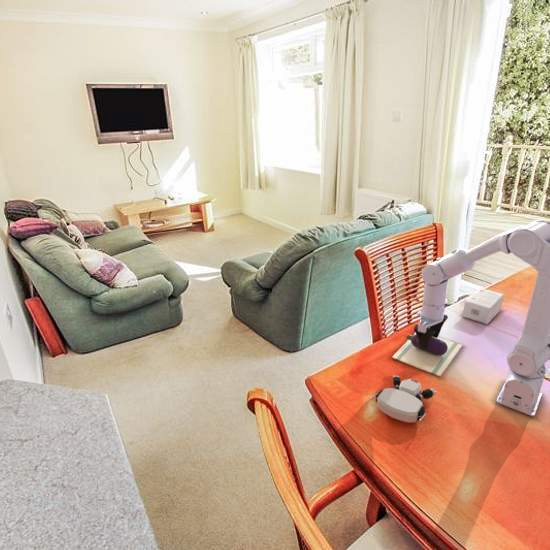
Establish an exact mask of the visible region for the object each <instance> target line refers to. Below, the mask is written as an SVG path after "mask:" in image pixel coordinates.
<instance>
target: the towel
mask: <svg viewBox="0 0 550 550" xmlns="http://www.w3.org/2000/svg"><path fill="white" fill-rule="evenodd" d="M415 333H416V332H415V331H414V333H413V334H412V336H413V335H414V334H415ZM434 338H435V337H434ZM437 339H440V340H443V341H444V342H445V343H446V344H447V347H448V350H447V352H446V353H445V354H444V355H436V354H433V353H430V352H427V351H424V350H422V349H419V348H416V347H414V346H413V345H412V343H411V340H408V339H407V340H406V342H405V343H404V344H402V346H401V347H400V348H399V349H398V350H397V351H396V352H395V353H394V354H393V356H392V357H391V358H392V359H393V360H396V361H398V362H400V363H403V364H406V365H409V366H411V367H414V368H416V369H418V370H422V371H424V372H427V373H429V374H431V375H434V376H437V377H440V378H441V376H442V375H443V373H445V371H446V369H447V368H448V367H449V365H450V363H451V362H452V361H453V360H454V359H455V357H456V355H457V354H458V353H459V351H460V350H461V349H462V347H463V344H460V343H457V342H454V341H450V340H448V339H445V338H442V337H439V336H438V337H437Z"/></svg>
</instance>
